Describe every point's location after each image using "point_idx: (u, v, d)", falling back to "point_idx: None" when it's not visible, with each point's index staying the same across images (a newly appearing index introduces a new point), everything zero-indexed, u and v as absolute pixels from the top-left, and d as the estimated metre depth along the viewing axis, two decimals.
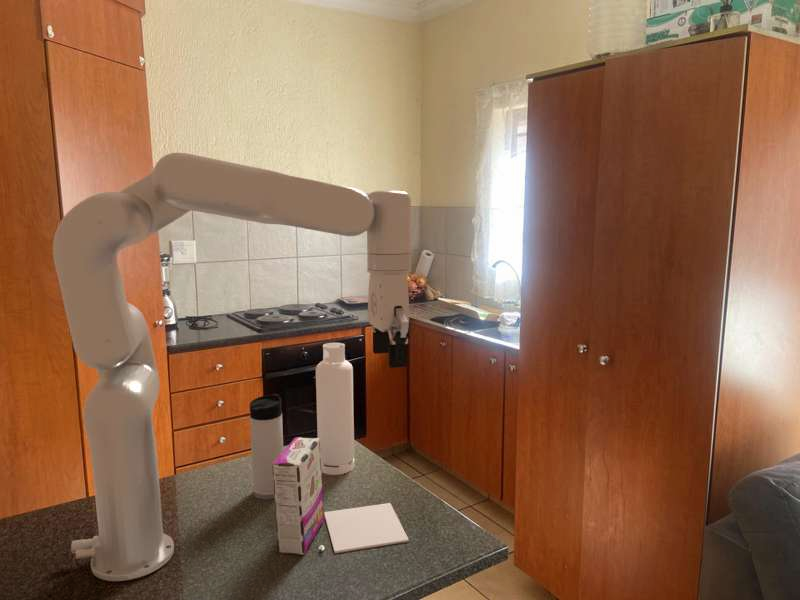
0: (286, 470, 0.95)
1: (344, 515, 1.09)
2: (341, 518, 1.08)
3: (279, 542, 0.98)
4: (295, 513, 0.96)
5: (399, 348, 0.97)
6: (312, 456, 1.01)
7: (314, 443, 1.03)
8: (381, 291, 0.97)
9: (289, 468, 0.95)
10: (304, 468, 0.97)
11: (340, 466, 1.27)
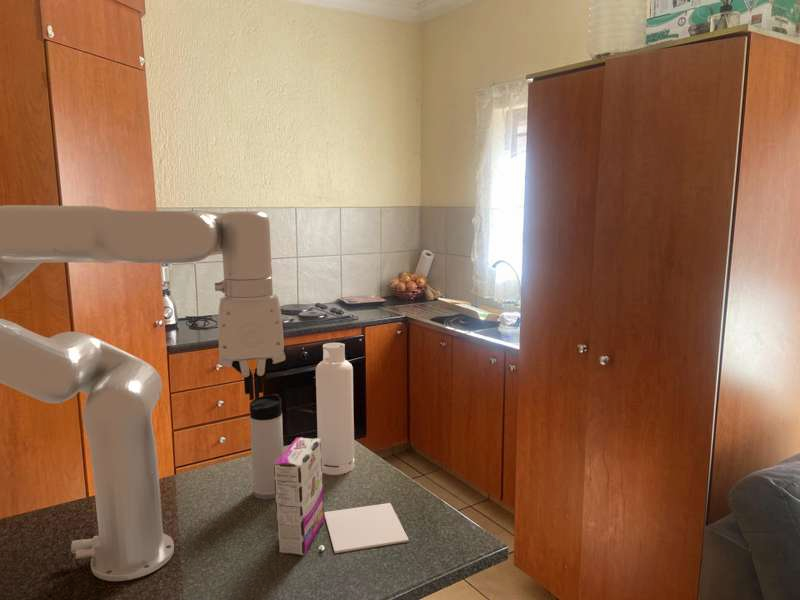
0: (288, 470, 0.95)
1: (344, 515, 1.09)
2: (341, 518, 1.08)
3: (279, 542, 0.98)
4: (296, 513, 0.96)
5: None
6: (314, 456, 1.01)
7: (315, 443, 1.03)
8: (275, 315, 0.93)
9: (291, 468, 0.95)
10: (305, 469, 0.97)
11: (340, 466, 1.27)
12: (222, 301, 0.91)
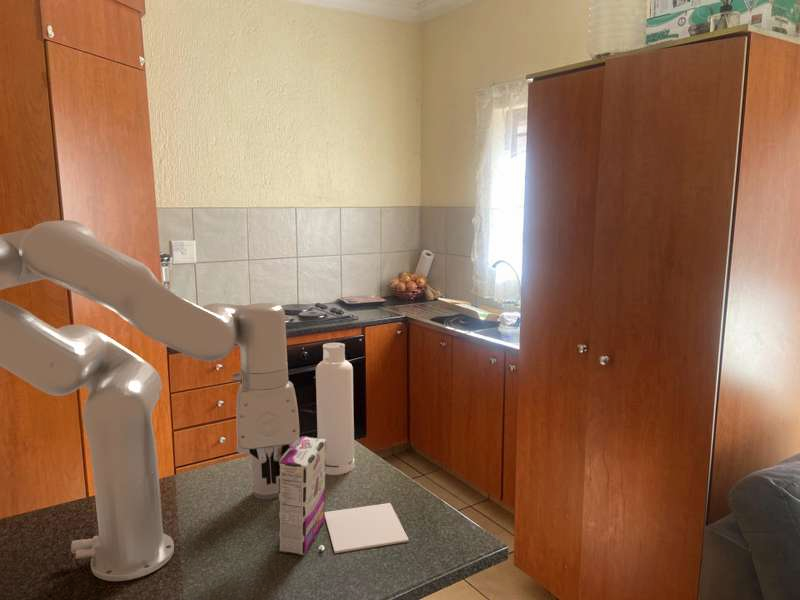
0: (293, 470, 0.95)
1: (344, 515, 1.09)
2: (341, 518, 1.08)
3: (280, 541, 0.98)
4: (298, 513, 0.96)
5: None
6: (319, 457, 1.01)
7: (320, 444, 1.03)
8: (291, 404, 0.96)
9: (296, 468, 0.95)
10: (310, 469, 0.97)
11: (340, 466, 1.27)
12: (240, 393, 0.94)
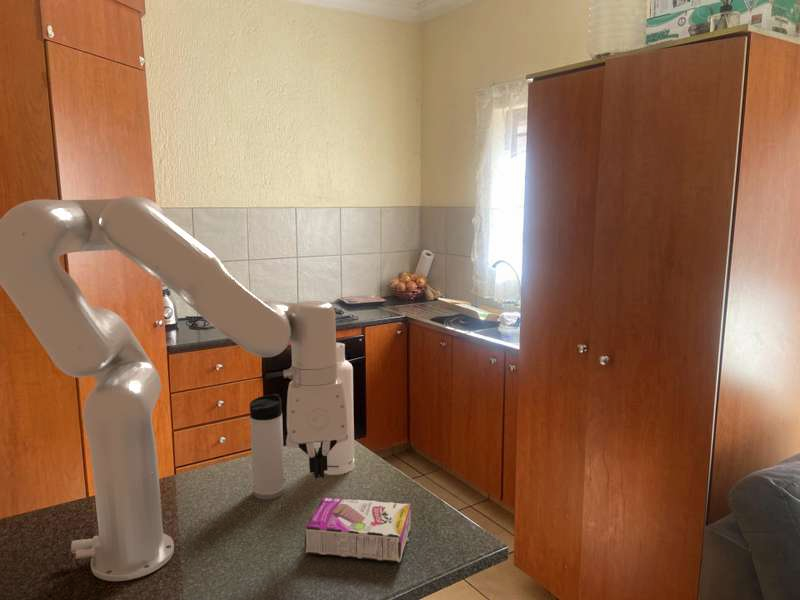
0: (393, 550, 0.94)
1: None
2: None
3: (315, 530, 0.96)
4: (348, 551, 0.96)
5: None
6: None
7: (408, 533, 1.03)
8: (340, 400, 0.98)
9: (396, 553, 0.94)
10: None
11: (340, 466, 1.27)
12: (291, 388, 0.96)
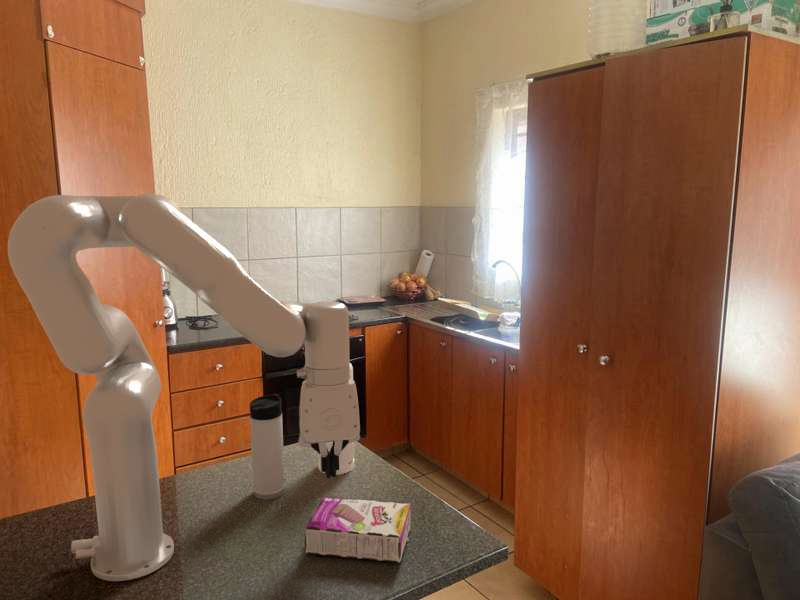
0: (393, 550, 0.94)
1: None
2: None
3: (315, 530, 0.96)
4: (348, 552, 0.96)
5: None
6: None
7: (408, 533, 1.03)
8: (353, 400, 0.99)
9: (396, 554, 0.94)
10: None
11: (340, 466, 1.27)
12: (305, 388, 0.97)
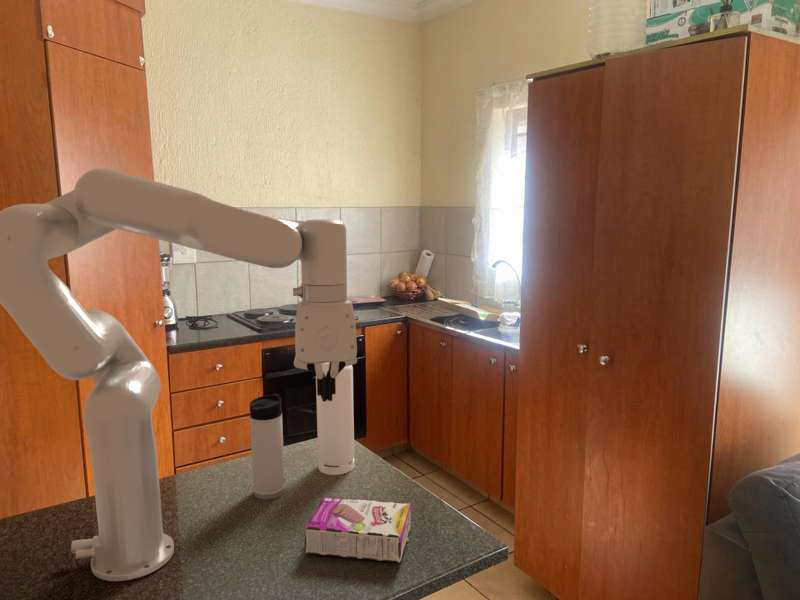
0: (393, 550, 0.94)
1: None
2: None
3: (315, 530, 0.96)
4: (348, 552, 0.96)
5: None
6: None
7: (408, 533, 1.03)
8: (350, 320, 0.97)
9: (396, 554, 0.94)
10: None
11: (340, 466, 1.27)
12: (301, 306, 0.95)
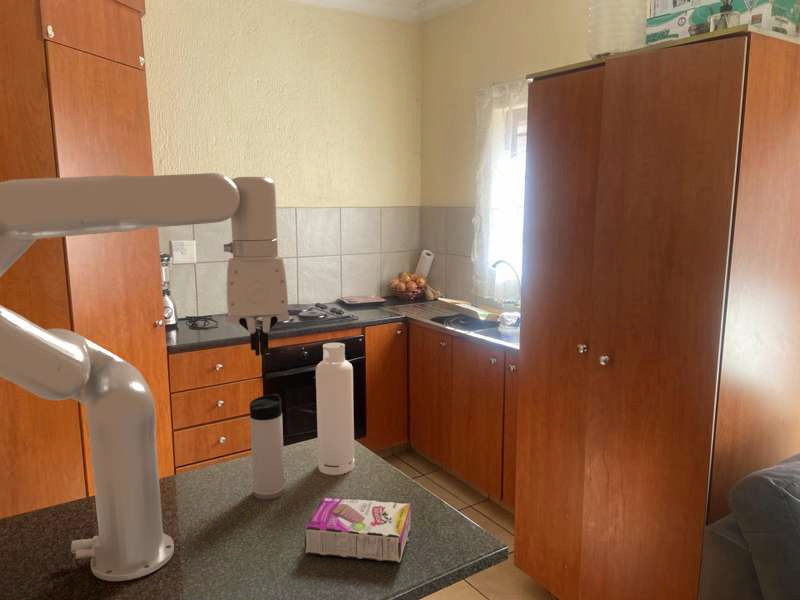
0: (393, 550, 0.94)
1: None
2: None
3: (315, 530, 0.96)
4: (348, 552, 0.96)
5: (267, 334, 1.03)
6: None
7: (408, 533, 1.03)
8: (280, 275, 0.99)
9: (396, 554, 0.94)
10: None
11: (340, 466, 1.27)
12: (230, 261, 0.97)
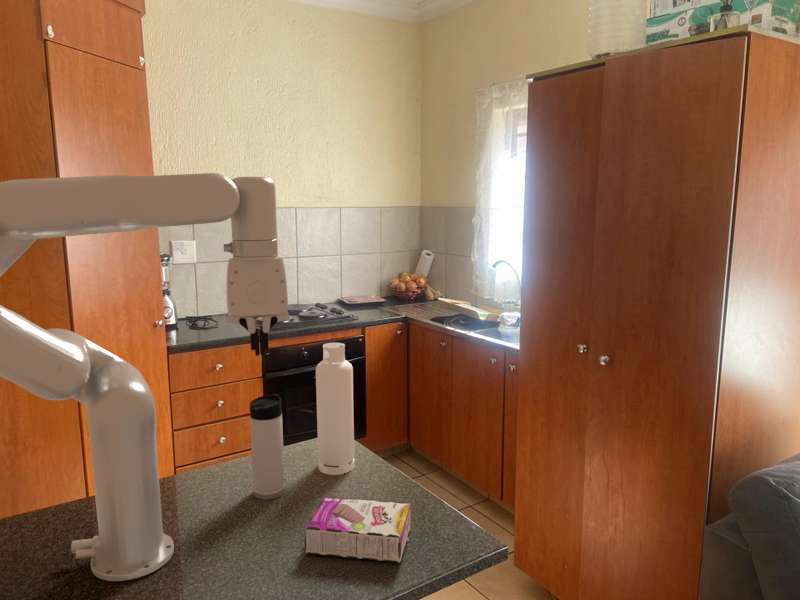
0: (393, 550, 0.94)
1: None
2: None
3: (315, 530, 0.96)
4: (348, 552, 0.96)
5: (267, 334, 1.03)
6: None
7: (408, 533, 1.03)
8: (280, 275, 0.99)
9: (396, 554, 0.94)
10: None
11: (340, 466, 1.27)
12: (230, 261, 0.97)
